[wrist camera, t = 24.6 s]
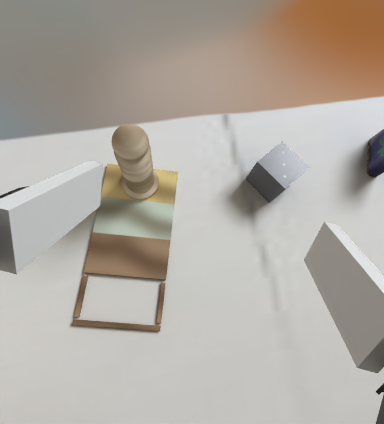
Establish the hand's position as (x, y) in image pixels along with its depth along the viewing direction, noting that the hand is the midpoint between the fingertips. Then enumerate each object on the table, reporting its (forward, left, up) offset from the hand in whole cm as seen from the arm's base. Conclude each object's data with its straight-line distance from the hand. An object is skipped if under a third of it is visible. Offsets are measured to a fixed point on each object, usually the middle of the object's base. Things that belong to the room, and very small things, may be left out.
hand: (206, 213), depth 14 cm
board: (+4, +8, -24) cm, 26 cm away
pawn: (+12, +8, -24) cm, 28 cm away
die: (+16, -14, -25) cm, 32 cm away
